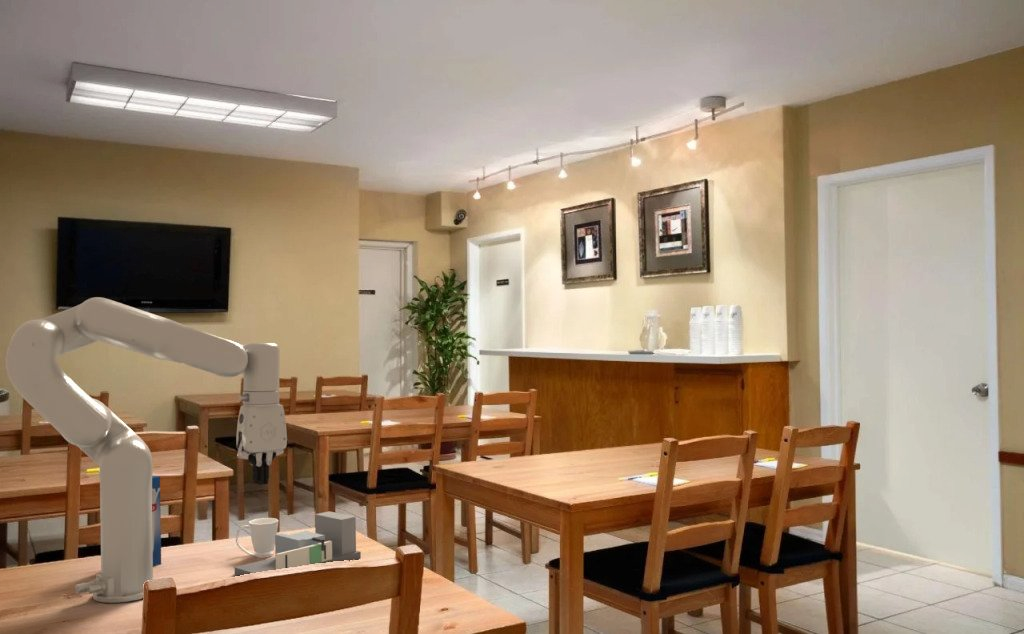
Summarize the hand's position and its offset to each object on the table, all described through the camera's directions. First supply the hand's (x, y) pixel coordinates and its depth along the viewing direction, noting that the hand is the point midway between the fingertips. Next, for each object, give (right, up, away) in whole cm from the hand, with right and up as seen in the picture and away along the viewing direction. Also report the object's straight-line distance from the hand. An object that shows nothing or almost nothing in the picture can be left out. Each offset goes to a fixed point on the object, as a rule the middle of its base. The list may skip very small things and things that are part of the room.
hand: (260, 483), depth 183 cm
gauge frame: (+7, -20, +6) cm, 22 cm away
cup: (-5, -20, +16) cm, 26 cm away
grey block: (+8, -18, +5) cm, 20 cm away
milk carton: (-31, -21, +7) cm, 38 cm away
